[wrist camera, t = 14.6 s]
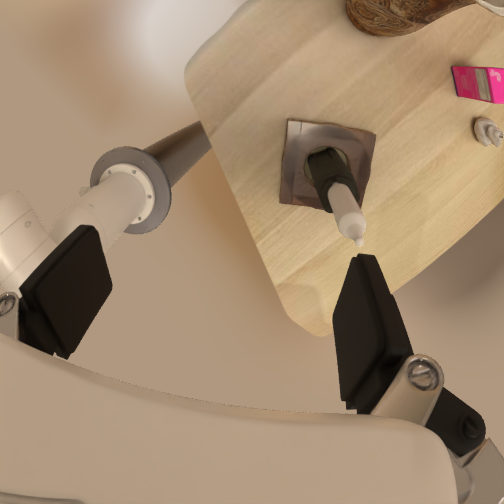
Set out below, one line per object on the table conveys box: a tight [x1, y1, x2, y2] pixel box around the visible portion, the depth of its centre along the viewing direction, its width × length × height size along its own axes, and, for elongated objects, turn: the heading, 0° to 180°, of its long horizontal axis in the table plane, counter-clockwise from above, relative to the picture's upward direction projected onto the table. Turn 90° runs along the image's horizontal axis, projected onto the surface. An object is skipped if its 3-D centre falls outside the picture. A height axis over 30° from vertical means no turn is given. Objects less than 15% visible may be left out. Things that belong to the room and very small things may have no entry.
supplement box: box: [451, 67, 504, 104], centre depth 26 cm, size 6×6×12 cm
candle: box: [308, 148, 367, 247], centre depth 34 cm, size 5×5×25 cm
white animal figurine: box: [474, 118, 504, 147], centre depth 32 cm, size 5×7×8 cm
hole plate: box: [279, 119, 376, 210], centre depth 43 cm, size 14×14×2 cm
